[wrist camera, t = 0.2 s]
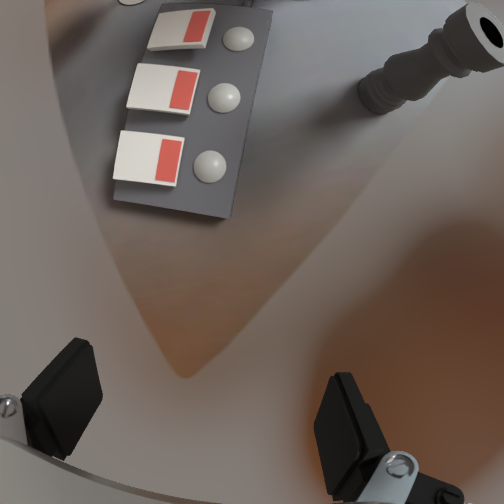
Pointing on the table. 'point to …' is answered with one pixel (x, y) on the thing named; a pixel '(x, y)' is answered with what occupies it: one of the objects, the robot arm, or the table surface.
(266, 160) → the table surface
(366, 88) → the candle holder
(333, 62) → the table surface
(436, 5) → the table surface
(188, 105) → the rocker
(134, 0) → the wineglass
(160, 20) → the rocker
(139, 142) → the rocker
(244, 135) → the power strip
